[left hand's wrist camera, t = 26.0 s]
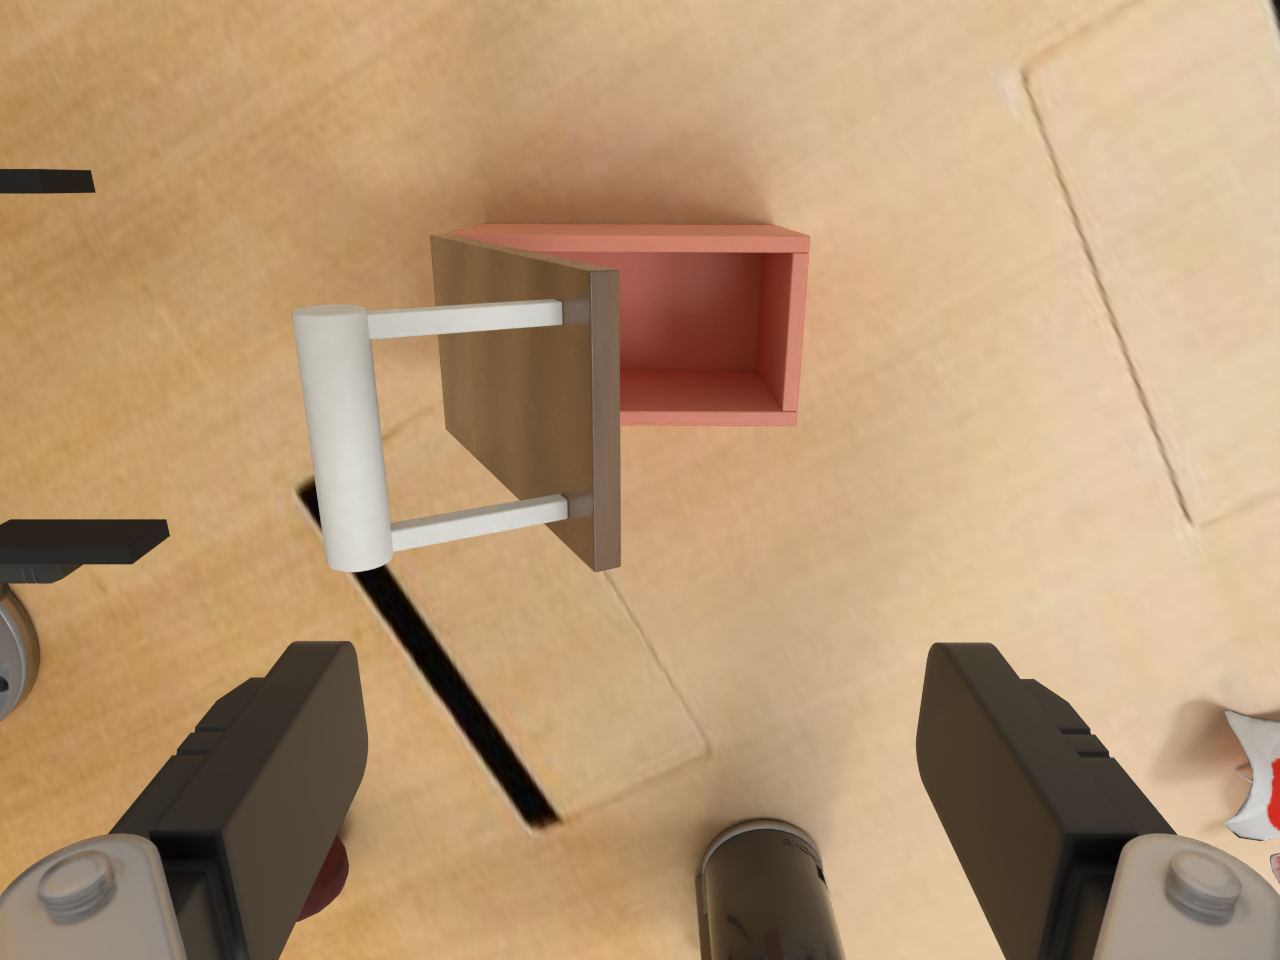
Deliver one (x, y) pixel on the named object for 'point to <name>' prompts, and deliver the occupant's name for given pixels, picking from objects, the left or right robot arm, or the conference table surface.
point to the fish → (1259, 781)
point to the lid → (477, 402)
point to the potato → (327, 880)
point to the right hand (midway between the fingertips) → (113, 375)
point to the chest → (693, 314)
